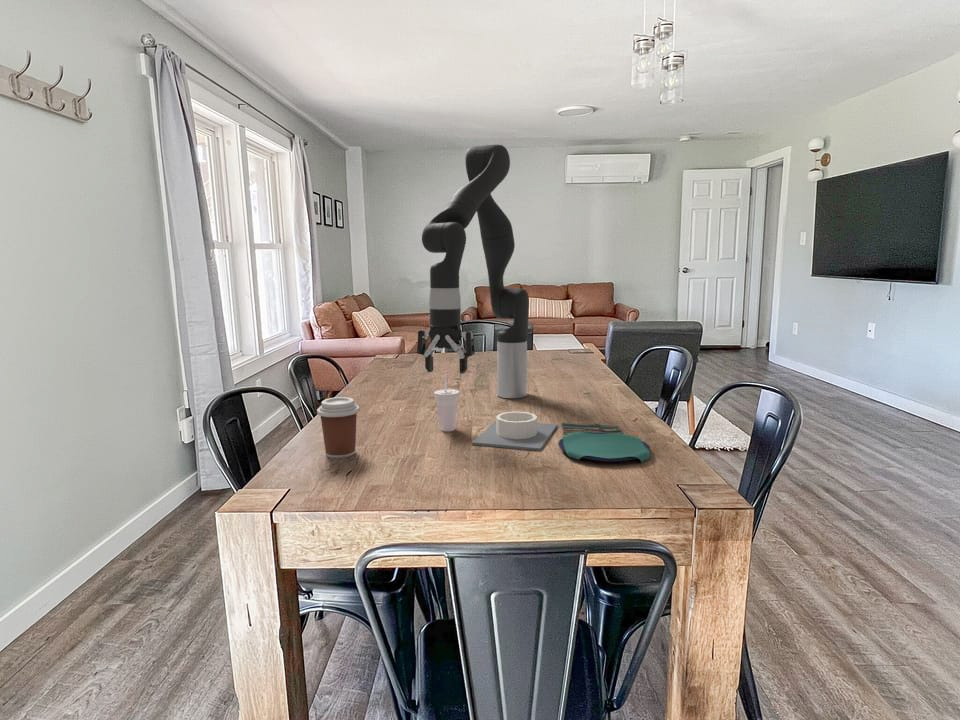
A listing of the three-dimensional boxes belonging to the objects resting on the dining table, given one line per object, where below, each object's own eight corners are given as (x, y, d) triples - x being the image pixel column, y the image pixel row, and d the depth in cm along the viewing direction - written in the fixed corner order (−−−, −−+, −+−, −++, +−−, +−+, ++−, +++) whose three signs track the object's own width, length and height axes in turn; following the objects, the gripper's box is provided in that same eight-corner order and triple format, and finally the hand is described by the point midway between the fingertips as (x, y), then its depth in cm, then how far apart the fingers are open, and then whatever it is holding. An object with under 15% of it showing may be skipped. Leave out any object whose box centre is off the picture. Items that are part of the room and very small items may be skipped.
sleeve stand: (496, 421, 152) (496, 404, 152) (557, 426, 147) (557, 409, 147) (472, 444, 134) (471, 425, 133) (540, 451, 129) (540, 431, 128)
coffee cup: (344, 444, 135) (341, 394, 133) (370, 452, 129) (367, 399, 127) (310, 454, 128) (307, 401, 126) (336, 463, 122) (333, 408, 120)
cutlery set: (560, 466, 119) (561, 456, 119) (553, 427, 149) (553, 419, 149) (659, 469, 118) (659, 458, 118) (632, 429, 147) (632, 420, 147)
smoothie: (429, 431, 145) (428, 376, 142) (443, 424, 150) (442, 371, 148) (452, 434, 142) (450, 378, 140) (464, 427, 147) (464, 373, 145)
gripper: (477, 306, 142) (478, 371, 145) (424, 305, 147) (425, 368, 149) (467, 308, 135) (468, 376, 138) (411, 307, 140) (413, 373, 142)
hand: (446, 372), depth 144 cm, fingers open, 8 cm apart
